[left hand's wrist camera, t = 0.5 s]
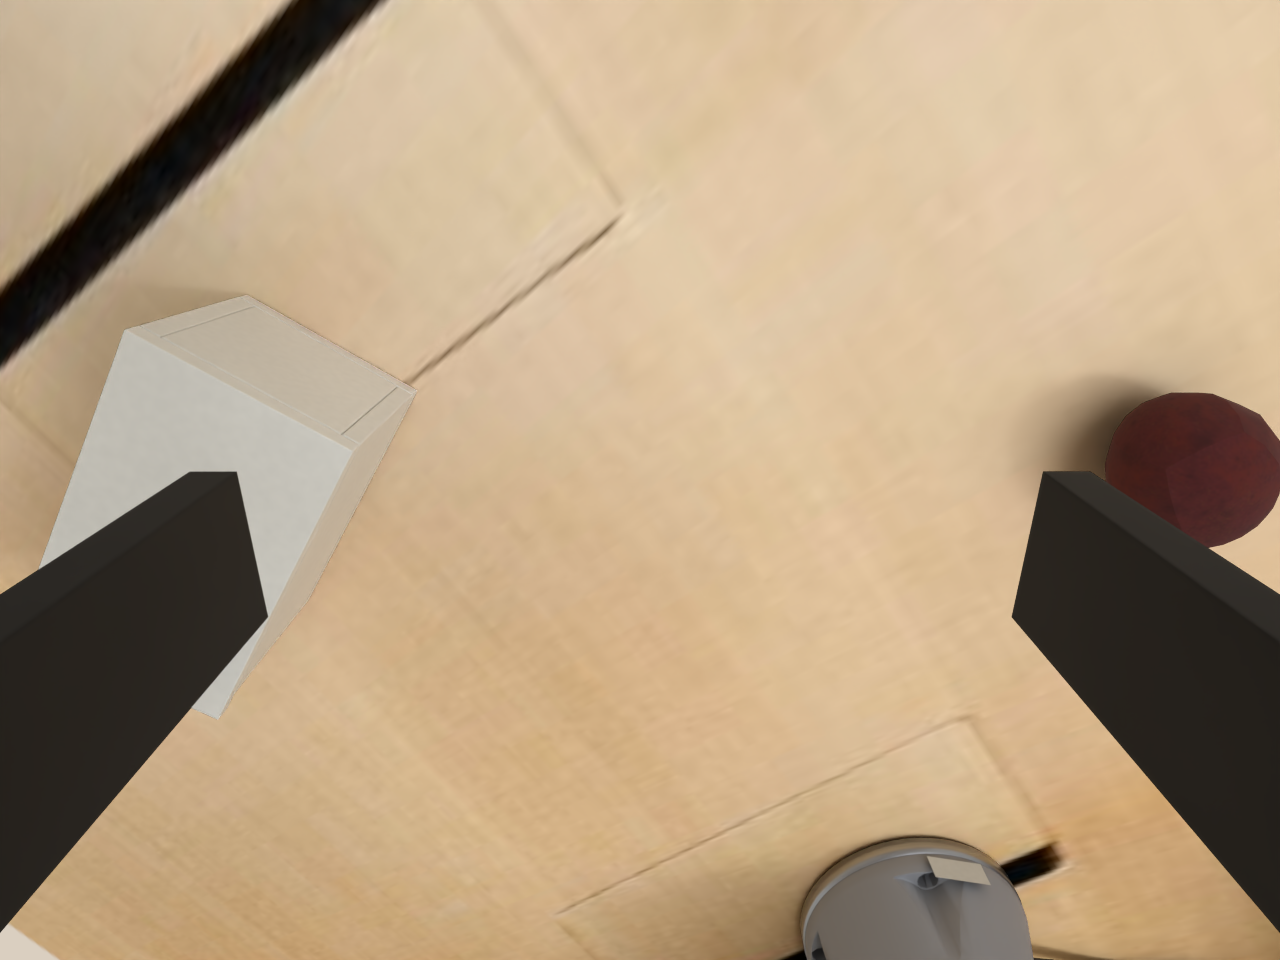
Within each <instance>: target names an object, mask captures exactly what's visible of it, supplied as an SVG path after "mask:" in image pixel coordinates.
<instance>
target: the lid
mask: <svg viewBox="0 0 1280 960" xmlns="http://www.w3.org/2000/svg"><path fill="white" fill-rule="evenodd" d="M359 446H360V445H359V444H357V443H355V442H353V441H352V440H350V439H348V438H346V437H344V436H342V435H340V434H339V433H337V432H335V431H333V430H331V429H329V428H327V427H326V426H324V425H322V424H320V423H318V422H316V421H314V420H313V419H311V418H309V417H307V416H305V415H303V414H301V413H300V412H298V411H296V410H294V409H292V408H290V407H288V406H287V405H285V404H283V403H281V402H279V401H277V400H275V399H273V398H272V397H270V396H268V395H266V394H264V393H262V392H260V391H259V390H257V389H255V388H253V387H251V386H249V385H247V384H246V383H244V382H242V381H240V380H238V379H236V378H234V377H233V376H231V375H229V374H227V373H225V372H223V371H221V370H220V369H218V368H216V367H214V366H212V365H210V364H208V363H207V362H205V361H203V360H201V359H199V358H197V357H195V356H194V355H192V354H190V353H188V352H186V351H184V350H182V349H181V348H179V347H177V346H175V345H173V344H171V343H169V342H167V341H166V340H164V339H162V338H160V337H158V336H156V335H154V334H153V333H151V332H149V331H147V330H145V329H143V328H141V327H140V326H135V327H132V328H128V329H125V330H124V332H123V335H122V338H121V341H120V343H119V346H118V349H117V352H116V354H115V357H114V360H113V363H112V366H111V368H110V371H109V374H108V377H107V380H106V382H105V385H104V388H103V391H102V393H101V396H100V399H99V402H98V405H97V407H96V410H95V413H94V416H93V419H92V421H91V424H90V427H89V430H88V432H87V435H86V438H85V441H84V444H83V446H82V449H81V452H80V455H79V457H78V460H77V463H76V466H75V469H74V471H73V474H72V477H71V480H70V483H69V485H68V488H67V491H66V494H65V496H64V499H63V502H62V505H61V508H60V510H59V513H58V516H57V519H56V522H55V524H54V527H53V530H52V533H51V535H50V538H49V541H48V544H47V547H46V549H45V552H44V555H43V558H42V560H41V563H40V566H39V569H40V568H42V567H43V566H45V565H46V564H48V563H50V562H51V561H53V560H54V559H56V558H57V557H59V556H60V555H62V554H63V553H65V552H66V551H68V550H70V549H71V548H73V547H74V546H76V545H77V544H79V543H80V542H82V541H83V540H85V539H87V538H88V537H90V536H91V535H93V534H94V533H96V532H97V531H99V530H100V529H102V528H103V527H105V526H107V525H108V524H110V523H111V522H113V521H114V520H116V519H117V518H119V517H120V516H122V515H124V514H125V513H127V512H128V511H130V510H131V509H133V508H134V507H136V506H137V505H139V504H140V503H142V502H144V501H145V500H147V499H148V498H150V497H151V496H153V495H154V494H156V493H157V492H159V491H161V490H162V489H164V488H165V487H167V486H168V485H170V484H171V483H173V482H174V481H176V480H177V479H179V478H181V477H182V476H184V475H185V474H187V473H188V472H190V471H237V474H238V479H239V484H240V488H241V493H242V498H243V502H244V507H245V512H246V516H247V521H248V525H249V530H250V535H251V539H252V544H253V549H254V553H255V558H256V562H257V567H258V572H259V576H260V581H261V586H262V590H263V595H264V600H265V604H266V609H267V613H268V618H267V619H266V620H265V621H264V623H263V624H262V625H261V626H260V627H259V629H258V630H257V631H256V632H255V633H254V634H253V636H252V637H251V638H250V639H249V640H248V642H247V643H246V644H245V645H244V646H243V647H242V649H241V650H240V651H239V652H238V653H237V654H236V656H235V657H234V658H233V659H232V660H231V662H230V663H229V664H228V665H227V666H226V667H225V669H224V670H223V671H222V672H221V673H220V674H219V676H218V677H217V678H216V679H215V680H214V682H213V683H212V684H211V685H210V686H209V687H208V689H207V690H206V691H205V692H204V693H203V694H202V696H201V697H200V698H199V699H198V700H197V702H196V703H195V704H194V705H193V706H192V707H191V708H192V709H195V710H197V711H199V712H201V713H204V714H206V715H208V716H210V717H213V718H215V719H219V718H220V717H221V715H222V714H223V713H224V712H225V710H226V709H227V707H228V705H229V703H230V701H231V699H232V697H233V695H234V693H235V692H236V690H237V688H238V686H239V684H240V682H241V680H242V678H243V676H244V674H245V672H246V670H247V668H248V666H249V664H250V662H251V660H252V658H253V656H254V654H255V652H256V650H257V648H258V646H259V644H260V642H261V640H262V638H263V636H264V634H265V632H266V630H267V628H268V626H269V624H270V622H271V620H272V618H273V616H274V614H275V612H276V610H277V608H278V606H279V604H280V602H281V600H282V599H283V597H284V595H285V593H286V591H287V589H288V587H289V585H290V583H291V581H292V579H293V577H294V575H295V573H296V571H297V569H298V567H299V565H300V563H301V561H302V559H303V557H304V555H305V553H306V551H307V549H308V547H309V545H310V543H311V541H312V539H313V537H314V535H315V533H316V531H317V529H318V527H319V525H320V523H321V521H322V519H323V517H324V515H325V513H326V511H327V509H328V507H329V506H330V504H331V502H332V500H333V498H334V496H335V494H336V492H337V490H338V488H339V486H340V484H341V482H342V480H343V478H344V476H345V474H346V472H347V470H348V468H349V466H350V464H351V462H352V460H353V458H354V456H355V454H356V452H357V450H358V448H359ZM39 569H38V570H39Z"/></svg>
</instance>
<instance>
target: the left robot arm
mask: <svg viewBox="0 0 1280 960" xmlns="http://www.w3.org/2000/svg"><path fill="white" fill-rule="evenodd" d="M267 618H268V613H267V609H266V604H265V600H264V595H263V590H262V586H261V581H260V576H259V572H258V567H257V562H256V558H255V553H254V549H253V544H252V539H251V535H250V530H249V525H248V521H247V516H246V512H245V507H244V502H243V498H242V493H241V488H240V484H239V479H238V474H237V471H190V472H188V473H187V474H185V475H184V476H182V477H181V478H179V479H177V480H176V481H174V482H173V483H171V484H170V485H168V486H167V487H165V488H164V489H162V490H161V491H159V492H157V493H156V494H154V495H153V496H151V497H150V498H148V499H147V500H145V501H144V502H142V503H140V504H139V505H137V506H136V507H134V508H133V509H131V510H130V511H128V512H127V513H125V514H124V515H122V516H120V517H119V518H117V519H116V520H114V521H113V522H111V523H110V524H108V525H107V526H105V527H103V528H102V529H100V530H99V531H97V532H96V533H94V534H93V535H91V536H90V537H88V538H87V539H85V540H83V541H82V542H80V543H79V544H77V545H76V546H74V547H73V548H71V549H70V550H68V551H66V552H65V553H63V554H62V555H60V556H59V557H57V558H56V559H54V560H53V561H51V562H50V563H48V564H46V565H45V566H43V567H42V568H40V569H39V570H37V571H36V572H34V573H33V574H31V575H30V576H28V577H26V578H25V579H23V580H22V581H20V582H19V583H17V584H16V585H14V586H13V587H11V588H9V589H8V590H6V591H5V592H3V593H2V594H0V932H1V931H2V930H3V929H4V928H5V926H6V925H7V924H8V923H9V922H10V921H11V919H12V918H13V917H14V916H15V915H16V913H17V912H18V911H19V910H20V909H21V908H22V906H23V905H24V904H25V903H26V902H27V901H28V899H29V898H30V897H31V896H32V895H33V893H34V892H35V891H36V890H37V889H38V888H39V886H40V885H41V884H42V883H43V882H44V881H45V879H46V878H47V877H48V876H49V875H50V873H51V872H52V871H53V870H54V869H55V868H56V866H57V865H58V864H59V863H60V862H61V860H62V859H63V858H64V857H65V856H66V855H67V853H68V852H69V851H70V850H71V849H72V848H73V846H74V845H75V844H76V843H77V842H78V840H79V839H80V838H81V837H82V836H83V835H84V833H85V832H86V831H87V830H88V829H89V828H90V826H91V825H92V824H93V823H94V822H95V820H96V819H97V818H98V817H99V816H100V815H101V813H102V812H103V811H104V810H105V809H106V808H107V806H108V805H109V804H110V803H111V802H112V800H113V799H114V798H115V797H116V796H117V795H118V793H119V792H120V791H121V790H122V789H123V787H124V786H125V785H126V784H127V783H128V782H129V780H130V779H131V778H132V777H133V776H134V775H135V773H136V772H137V771H138V770H139V769H140V767H141V766H142V765H143V764H144V763H145V762H146V760H147V759H148V758H149V757H150V756H151V755H152V753H153V752H154V751H155V750H156V749H157V747H158V746H159V745H160V744H161V743H162V742H163V740H164V739H165V738H166V737H167V736H168V735H169V733H170V732H171V731H172V730H173V729H174V727H175V726H176V725H177V724H178V723H179V722H180V720H181V719H182V718H183V717H184V716H185V715H186V713H187V712H188V711H189V710H190V709H191V707H192V706H193V705H194V704H195V703H196V702H197V700H198V699H199V698H200V697H201V696H202V694H203V693H204V692H205V691H206V690H207V689H208V687H209V686H210V685H211V684H212V683H213V682H214V680H215V679H216V678H217V677H218V676H219V674H220V673H221V672H222V671H223V670H224V669H225V667H226V666H227V665H228V664H229V663H230V662H231V660H232V659H233V658H234V657H235V656H236V654H237V653H238V652H239V651H240V650H241V649H242V647H243V646H244V645H245V644H246V643H247V642H248V640H249V639H250V638H251V637H252V636H253V634H254V633H255V632H256V631H257V630H258V629H259V627H260V626H261V625H262V624H263V623H264V621H265V620H266V619H267ZM1012 618H1013V619H1014V620H1015V621H1016V623H1017V624H1018V625H1019V626H1020V627H1021V629H1022V630H1023V631H1024V632H1025V633H1026V634H1027V636H1028V637H1029V638H1030V639H1031V640H1032V642H1033V643H1034V644H1035V645H1036V646H1037V647H1038V649H1039V650H1040V651H1041V652H1042V653H1043V654H1044V656H1045V657H1046V658H1047V659H1048V660H1049V662H1050V663H1051V664H1052V665H1053V666H1054V667H1055V669H1056V670H1057V671H1058V672H1059V673H1060V674H1061V676H1062V677H1063V678H1064V679H1065V680H1066V682H1067V683H1068V684H1069V685H1070V686H1071V687H1072V689H1073V690H1074V691H1075V692H1076V693H1077V694H1078V696H1079V697H1080V698H1081V699H1082V700H1083V702H1084V703H1085V704H1086V705H1087V706H1088V707H1089V709H1090V710H1091V711H1092V712H1093V713H1094V715H1095V716H1096V717H1097V718H1098V719H1099V720H1100V722H1101V723H1102V724H1103V725H1104V726H1105V727H1106V729H1107V730H1108V731H1109V732H1110V733H1111V735H1112V736H1113V737H1114V738H1115V739H1116V740H1117V742H1118V743H1119V744H1120V745H1121V746H1122V747H1123V749H1124V750H1125V751H1126V752H1127V753H1128V755H1129V756H1130V757H1131V758H1132V759H1133V760H1134V762H1135V763H1136V764H1137V765H1138V766H1139V767H1140V769H1141V770H1142V771H1143V772H1144V773H1145V775H1146V776H1147V777H1148V778H1149V779H1150V780H1151V782H1152V783H1153V784H1154V785H1155V786H1156V787H1157V789H1158V790H1159V791H1160V792H1161V793H1162V795H1163V796H1164V797H1165V798H1166V799H1167V800H1168V802H1169V803H1170V804H1171V805H1172V806H1173V808H1174V809H1175V810H1176V811H1177V812H1178V813H1179V815H1180V816H1181V817H1182V818H1183V819H1184V820H1185V822H1186V823H1187V824H1188V825H1189V826H1190V828H1191V829H1192V830H1193V831H1194V832H1195V833H1196V835H1197V836H1198V837H1199V838H1200V839H1201V840H1202V842H1203V843H1204V844H1205V845H1206V846H1207V848H1208V849H1209V850H1210V851H1211V852H1212V853H1213V855H1214V856H1215V857H1216V858H1217V859H1218V860H1219V862H1220V863H1221V864H1222V865H1223V866H1224V868H1225V869H1226V870H1227V871H1228V872H1229V873H1230V875H1231V876H1232V877H1233V878H1234V879H1235V881H1236V882H1237V883H1238V884H1239V885H1240V886H1241V888H1242V889H1243V890H1244V891H1245V892H1246V893H1247V895H1248V896H1249V897H1250V898H1251V899H1252V901H1253V902H1254V903H1255V904H1256V905H1257V906H1258V908H1259V909H1260V910H1261V911H1262V912H1263V913H1264V915H1265V916H1266V917H1267V918H1268V919H1269V921H1270V922H1271V923H1272V924H1273V925H1274V926H1275V928H1276V929H1277V930H1278V931H1279V932H1280V594H1278V593H1277V592H1275V591H1274V590H1272V589H1271V588H1269V587H1267V586H1266V585H1264V584H1263V583H1261V582H1260V581H1258V580H1257V579H1255V578H1254V577H1252V576H1250V575H1249V574H1247V573H1246V572H1244V571H1243V570H1241V569H1240V568H1238V567H1237V566H1235V565H1234V564H1232V563H1230V562H1229V561H1227V560H1226V559H1224V558H1223V557H1221V556H1220V555H1218V554H1217V553H1215V552H1214V551H1212V550H1210V549H1209V548H1207V547H1206V546H1204V545H1203V544H1201V543H1200V542H1198V541H1197V540H1195V539H1193V538H1192V537H1190V536H1189V535H1187V534H1186V533H1184V532H1183V531H1181V530H1180V529H1178V528H1177V527H1175V526H1173V525H1172V524H1170V523H1169V522H1167V521H1166V520H1164V519H1163V518H1161V517H1160V516H1158V515H1156V514H1155V513H1153V512H1152V511H1150V510H1149V509H1147V508H1146V507H1144V506H1143V505H1141V504H1140V503H1138V502H1136V501H1135V500H1133V499H1132V498H1130V497H1129V496H1127V495H1126V494H1124V493H1123V492H1121V491H1119V490H1118V489H1116V488H1115V487H1113V486H1112V485H1110V484H1109V483H1107V482H1106V481H1104V480H1103V479H1101V478H1099V477H1098V476H1096V475H1095V474H1093V473H1092V472H1090V471H1043V474H1042V479H1041V484H1040V488H1039V493H1038V498H1037V502H1036V507H1035V512H1034V516H1033V521H1032V525H1031V530H1030V535H1029V539H1028V544H1027V549H1026V553H1025V558H1024V562H1023V567H1022V572H1021V576H1020V581H1019V586H1018V590H1017V595H1016V600H1015V604H1014V609H1013V613H1012Z"/></svg>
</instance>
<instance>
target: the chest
mask: <svg viewBox="0 0 1280 960" xmlns="http://www.w3.org/2000/svg"><path fill="white" fill-rule="evenodd" d="M140 327H141V328H143V329H145V330H147V331H149V332H151V333H153V334H154V335H156V336H158V337H160V338H162V339H164V340H166V341H167V342H169V343H171V344H173V345H175V346H177V347H179V348H181V349H182V350H184V351H186V352H188V353H190V354H192V355H194V356H195V357H197V358H199V359H201V360H203V361H205V362H207V363H208V364H210V365H212V366H214V367H216V368H218V369H220V370H221V371H223V372H225V373H227V374H229V375H231V376H233V377H234V378H236V379H238V380H240V381H242V382H244V383H246V384H247V385H249V386H251V387H253V388H255V389H257V390H259V391H260V392H262V393H264V394H266V395H268V396H270V397H272V398H273V399H275V400H277V401H279V402H281V403H283V404H285V405H287V406H288V407H290V408H292V409H294V410H296V411H298V412H300V413H301V414H303V415H305V416H307V417H309V418H311V419H313V420H314V421H316V422H318V423H320V424H322V425H324V426H326V427H327V428H329V429H331V430H333V431H335V432H337V433H339V434H340V435H342V436H344V437H346V438H348V439H350V440H352V441H353V442H355V443H357V444H359V445H360V446H359V448H358V450H357V452H356V454H355V456H354V458H353V460H352V462H351V464H350V466H349V468H348V470H347V472H346V474H345V476H344V478H343V480H342V482H341V484H340V486H339V488H338V490H337V492H336V494H335V496H334V498H333V500H332V502H331V504H330V506H329V507H328V509H327V511H326V513H325V515H324V517H323V519H322V521H321V523H320V525H319V527H318V529H317V531H316V533H315V535H314V537H313V539H312V541H311V543H310V545H309V547H308V549H307V551H306V553H305V555H304V557H303V559H302V561H301V563H300V565H299V567H298V569H297V571H296V573H295V575H294V577H293V579H292V581H291V583H290V585H289V587H288V589H287V591H286V593H285V595H284V597H283V599H282V600H281V602H280V604H279V606H278V608H277V610H276V612H275V614H274V616H273V618H272V620H271V622H270V624H269V626H268V628H267V630H266V632H265V634H264V636H263V638H262V640H261V642H260V644H259V646H258V648H257V650H256V652H255V654H254V656H253V658H252V660H251V662H250V664H249V666H248V668H247V670H246V672H245V674H244V676H243V678H242V680H241V682H240V684H239V686H238V688H237V690H238V689H239V688H240V686H241V685H242V684H243V682H244V681H245V680H246V679H247V677H248V676H249V675H250V674H251V672H252V671H253V670H254V669H255V667H256V666H257V665H258V663H259V662H260V661H261V660H262V658H263V657H264V656H265V655H266V653H267V652H268V651H269V650H270V648H271V647H272V646H273V645H274V643H275V642H276V641H277V639H278V638H279V637H280V636H281V634H282V633H283V632H284V631H285V629H286V628H287V627H288V626H289V624H290V623H291V622H292V620H293V619H294V618H295V617H296V615H297V614H298V613H299V612H300V610H301V609H302V608H303V606H304V605H305V604H306V603H307V602H308V600H309V598H310V597H311V595H312V593H313V591H314V589H315V587H316V585H317V583H318V581H319V579H320V577H321V575H322V573H323V572H324V570H325V568H326V566H327V564H328V562H329V560H330V558H331V556H332V554H333V552H334V550H335V549H336V547H337V545H338V543H339V541H340V539H341V537H342V535H343V533H344V531H345V529H346V527H347V525H348V524H349V522H350V520H351V518H352V516H353V514H354V512H355V510H356V508H357V506H358V504H359V502H360V501H361V499H362V497H363V495H364V493H365V491H366V489H367V487H368V485H369V483H370V481H371V479H372V477H373V476H374V474H375V472H376V470H377V468H378V466H379V464H380V462H381V460H382V458H383V456H384V454H385V453H386V451H387V449H388V447H389V445H390V443H391V441H392V439H393V437H394V435H395V433H396V431H397V429H398V428H399V426H400V424H401V422H402V420H403V418H404V416H405V414H406V412H407V410H408V408H409V406H410V405H411V403H412V401H413V399H414V397H415V395H416V393H417V390H416V389H414V388H412V387H410V386H409V385H407V384H405V383H403V382H402V381H400V380H398V379H396V378H394V377H393V376H391V375H389V374H387V373H386V372H384V371H382V370H380V369H378V368H377V367H375V366H373V365H371V364H370V363H368V362H366V361H364V360H362V359H361V358H359V357H357V356H355V355H354V354H352V353H350V352H348V351H346V350H345V349H343V348H341V347H339V346H338V345H336V344H334V343H332V342H330V341H329V340H327V339H325V338H323V337H322V336H320V335H318V334H316V333H314V332H313V331H311V330H309V329H307V328H306V327H304V326H302V325H300V324H298V323H297V322H295V321H293V320H291V319H290V318H288V317H286V316H284V315H282V314H281V313H279V312H277V311H275V310H274V309H272V308H270V307H268V306H266V305H265V304H263V303H261V302H259V301H258V300H256V299H254V298H252V297H250V296H249V295H243V296H240V297H236V298H232V299H229V300H225V301H222V302H218V303H215V304H211V305H208V306H205V307H201V308H198V309H194V310H191V311H187V312H184V313H180V314H177V315H173V316H170V317H167V318H163V319H160V320H156V321H153V322H149V323H146V324H142V325H140ZM237 690H236V691H237Z"/></svg>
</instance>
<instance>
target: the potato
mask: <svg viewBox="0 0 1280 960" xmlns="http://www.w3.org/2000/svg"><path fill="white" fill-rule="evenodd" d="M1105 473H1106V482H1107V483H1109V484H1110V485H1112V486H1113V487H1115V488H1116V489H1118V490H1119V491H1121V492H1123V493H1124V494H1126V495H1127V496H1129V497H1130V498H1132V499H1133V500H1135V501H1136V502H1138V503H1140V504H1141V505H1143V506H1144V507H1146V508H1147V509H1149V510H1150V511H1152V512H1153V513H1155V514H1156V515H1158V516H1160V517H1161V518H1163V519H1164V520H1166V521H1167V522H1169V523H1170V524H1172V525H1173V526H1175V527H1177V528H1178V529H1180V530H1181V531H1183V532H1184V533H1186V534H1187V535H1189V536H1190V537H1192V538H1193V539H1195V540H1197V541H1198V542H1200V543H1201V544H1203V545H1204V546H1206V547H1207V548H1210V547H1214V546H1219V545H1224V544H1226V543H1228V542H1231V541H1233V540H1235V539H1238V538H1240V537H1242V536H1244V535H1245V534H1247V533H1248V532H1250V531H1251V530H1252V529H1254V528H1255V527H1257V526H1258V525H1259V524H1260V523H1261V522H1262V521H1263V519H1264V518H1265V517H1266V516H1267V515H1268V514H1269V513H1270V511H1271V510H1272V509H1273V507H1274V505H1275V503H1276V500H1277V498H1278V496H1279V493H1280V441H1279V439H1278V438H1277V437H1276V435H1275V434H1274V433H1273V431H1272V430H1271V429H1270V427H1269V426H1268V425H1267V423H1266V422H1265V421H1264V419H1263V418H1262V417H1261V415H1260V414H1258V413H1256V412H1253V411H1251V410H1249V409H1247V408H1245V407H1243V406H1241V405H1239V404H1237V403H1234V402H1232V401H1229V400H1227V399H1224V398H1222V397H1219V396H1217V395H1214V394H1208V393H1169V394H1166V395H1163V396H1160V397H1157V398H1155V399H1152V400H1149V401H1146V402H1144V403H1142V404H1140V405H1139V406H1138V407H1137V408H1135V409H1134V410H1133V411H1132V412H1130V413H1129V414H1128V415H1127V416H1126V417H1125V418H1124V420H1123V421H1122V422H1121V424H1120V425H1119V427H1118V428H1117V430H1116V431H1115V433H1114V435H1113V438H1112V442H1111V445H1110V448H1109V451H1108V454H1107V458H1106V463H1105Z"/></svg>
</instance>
